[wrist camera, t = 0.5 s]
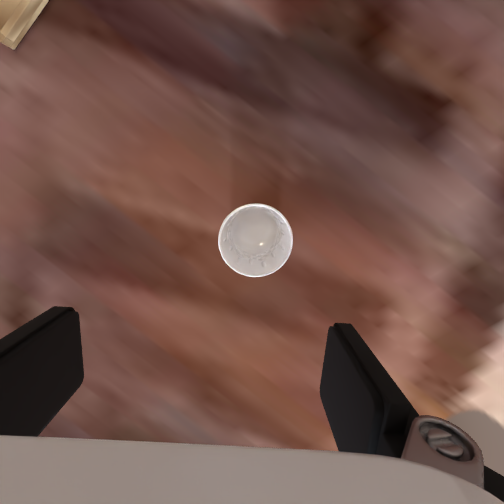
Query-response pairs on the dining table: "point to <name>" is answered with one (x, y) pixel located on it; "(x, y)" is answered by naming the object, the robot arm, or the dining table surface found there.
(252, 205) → the white cup
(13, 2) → the board
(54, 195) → the dining table surface
